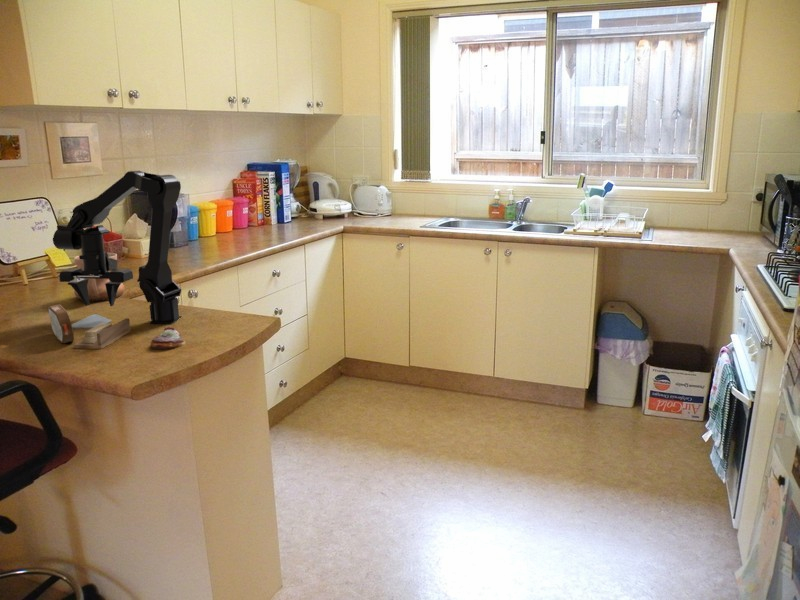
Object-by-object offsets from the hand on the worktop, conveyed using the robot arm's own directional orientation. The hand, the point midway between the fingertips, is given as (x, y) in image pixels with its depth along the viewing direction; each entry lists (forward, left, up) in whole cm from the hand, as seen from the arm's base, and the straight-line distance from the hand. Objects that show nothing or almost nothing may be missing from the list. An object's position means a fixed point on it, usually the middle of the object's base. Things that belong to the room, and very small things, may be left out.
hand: (99, 305), depth 184 cm
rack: (-11, +19, -4) cm, 23 cm away
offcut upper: (-10, +19, -2) cm, 22 cm away
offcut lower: (-10, +19, -3) cm, 22 cm away
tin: (0, +19, -4) cm, 19 cm away
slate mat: (0, 0, -4) cm, 4 cm away
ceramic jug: (+13, -23, -4) cm, 27 cm away
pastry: (-30, +23, -4) cm, 38 cm away
